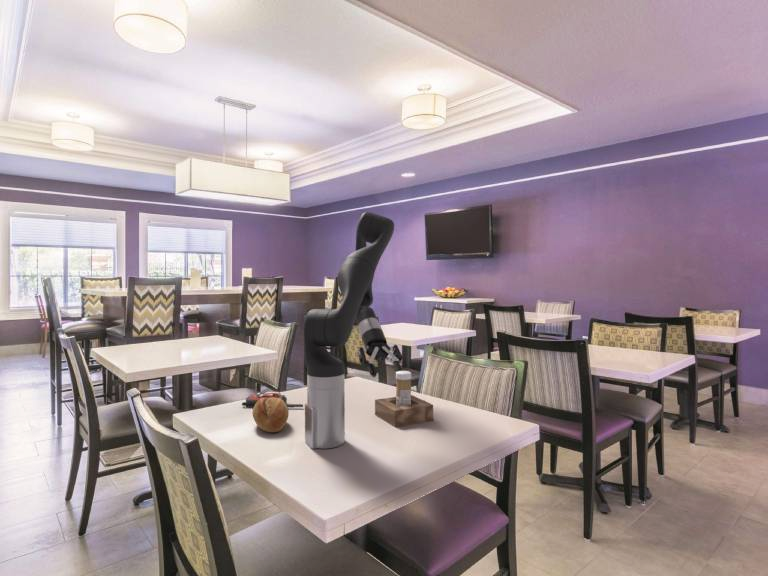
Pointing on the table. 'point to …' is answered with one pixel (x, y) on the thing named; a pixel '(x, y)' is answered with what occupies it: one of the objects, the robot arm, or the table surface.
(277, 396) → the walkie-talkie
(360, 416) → the table surface
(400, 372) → the sprinkles bottle
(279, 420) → the bread roll
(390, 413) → the walnut bottle stand
